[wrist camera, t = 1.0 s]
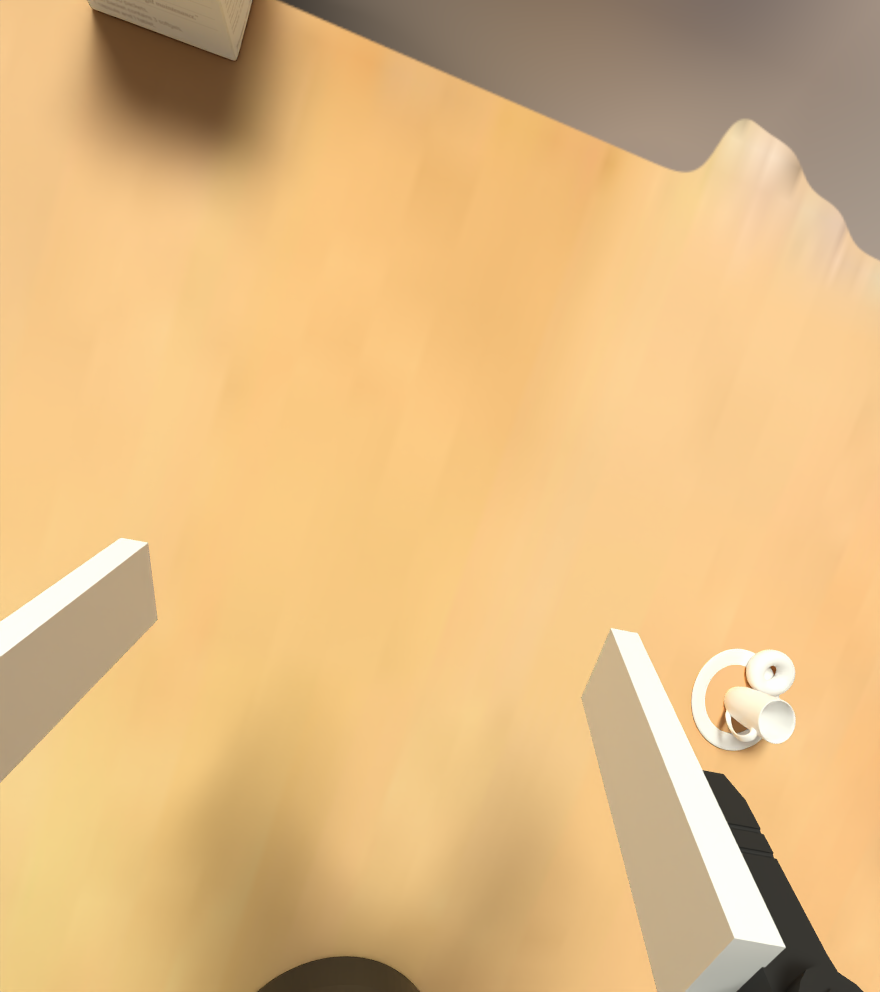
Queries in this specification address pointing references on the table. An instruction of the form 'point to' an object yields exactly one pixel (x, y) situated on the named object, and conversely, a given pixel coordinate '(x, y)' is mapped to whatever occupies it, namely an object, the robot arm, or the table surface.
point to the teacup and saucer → (748, 699)
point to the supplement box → (187, 20)
